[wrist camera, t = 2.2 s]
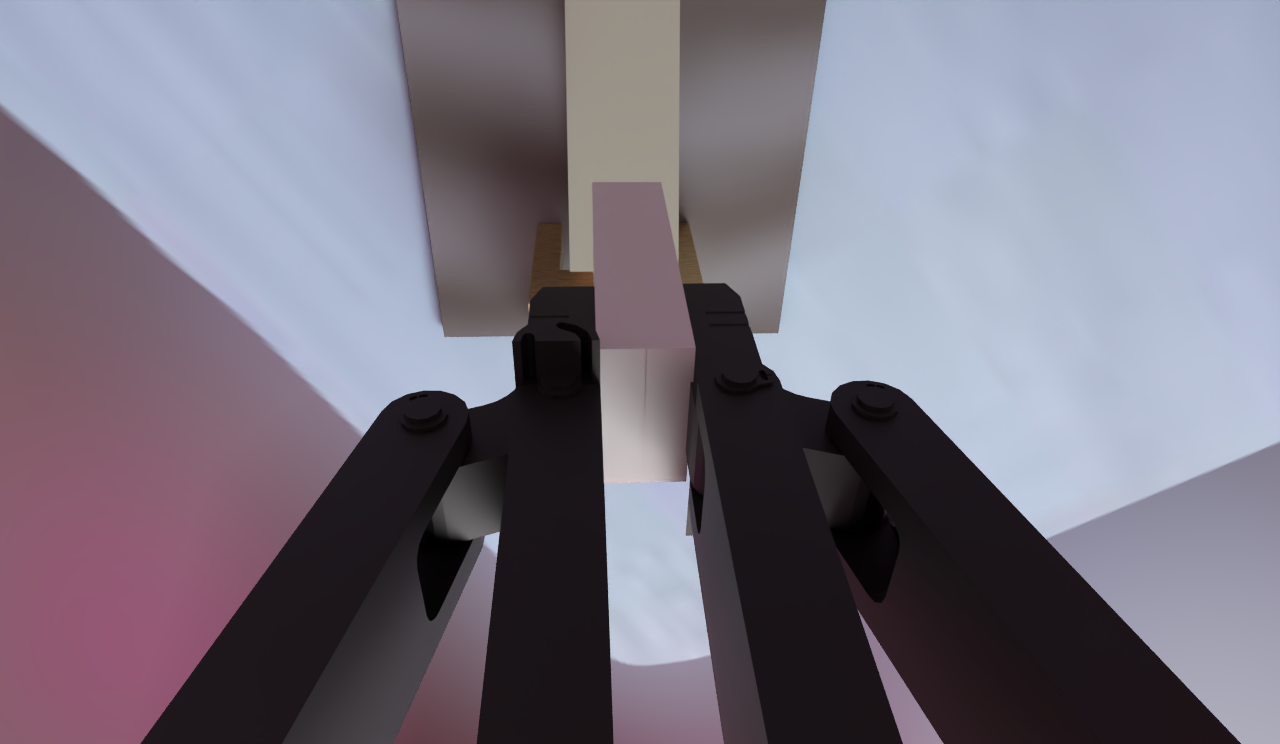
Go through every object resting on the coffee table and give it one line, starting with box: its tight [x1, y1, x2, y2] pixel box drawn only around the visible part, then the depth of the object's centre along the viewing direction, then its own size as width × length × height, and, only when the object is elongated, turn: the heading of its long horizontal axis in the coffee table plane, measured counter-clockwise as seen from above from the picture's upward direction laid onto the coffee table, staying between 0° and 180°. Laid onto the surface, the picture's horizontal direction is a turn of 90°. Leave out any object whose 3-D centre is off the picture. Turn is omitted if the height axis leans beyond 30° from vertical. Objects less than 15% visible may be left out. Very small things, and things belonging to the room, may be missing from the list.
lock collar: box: [528, 223, 703, 307], centre depth 32 cm, size 5×6×6 cm
